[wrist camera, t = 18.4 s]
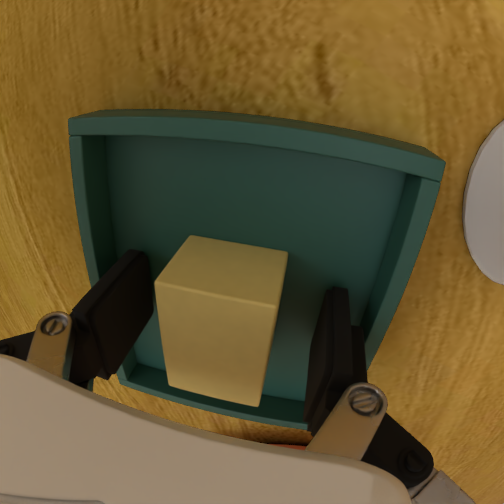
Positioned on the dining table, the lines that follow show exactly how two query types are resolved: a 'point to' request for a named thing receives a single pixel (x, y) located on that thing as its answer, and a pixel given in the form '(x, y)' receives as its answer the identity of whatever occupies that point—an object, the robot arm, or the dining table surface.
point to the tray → (254, 223)
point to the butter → (220, 316)
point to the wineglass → (486, 206)
